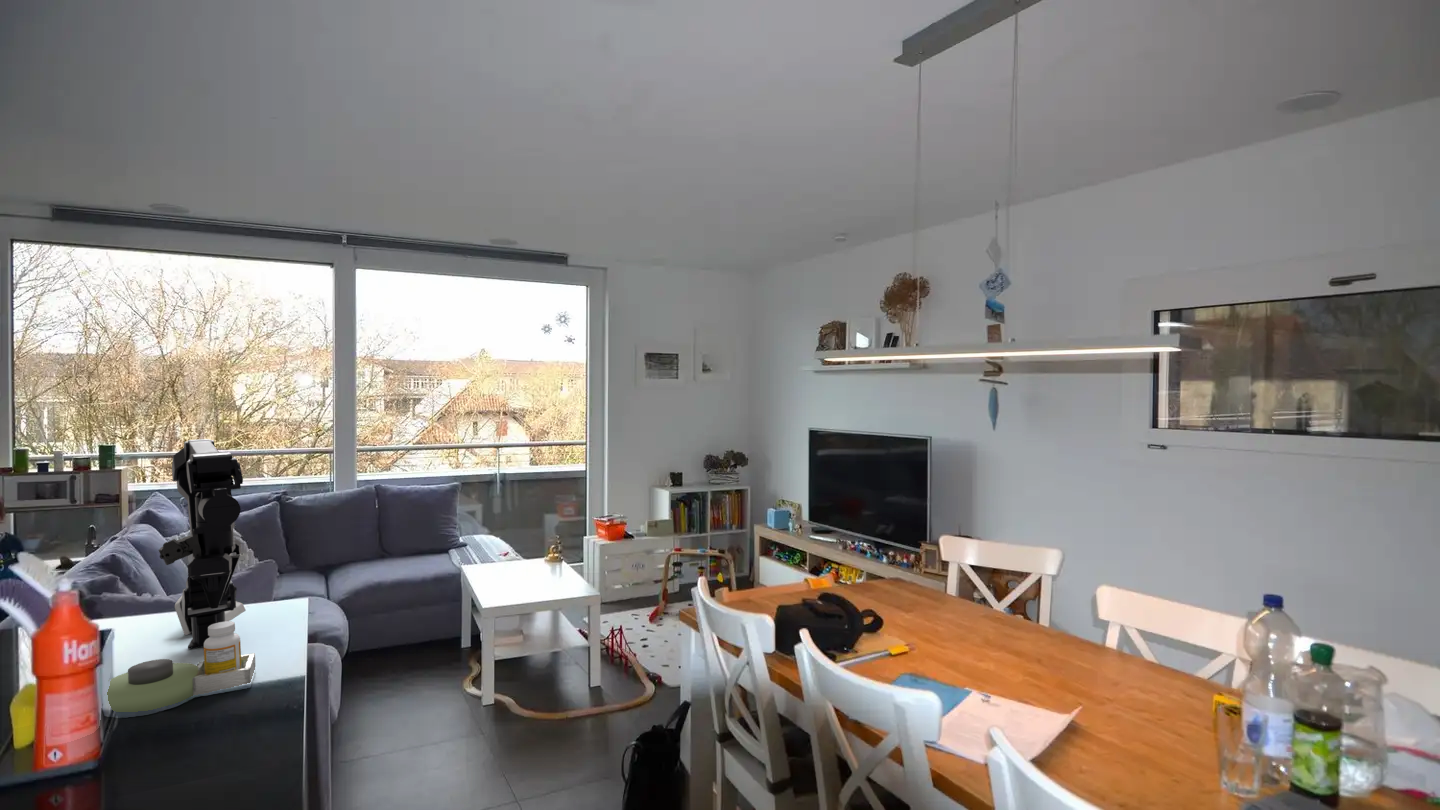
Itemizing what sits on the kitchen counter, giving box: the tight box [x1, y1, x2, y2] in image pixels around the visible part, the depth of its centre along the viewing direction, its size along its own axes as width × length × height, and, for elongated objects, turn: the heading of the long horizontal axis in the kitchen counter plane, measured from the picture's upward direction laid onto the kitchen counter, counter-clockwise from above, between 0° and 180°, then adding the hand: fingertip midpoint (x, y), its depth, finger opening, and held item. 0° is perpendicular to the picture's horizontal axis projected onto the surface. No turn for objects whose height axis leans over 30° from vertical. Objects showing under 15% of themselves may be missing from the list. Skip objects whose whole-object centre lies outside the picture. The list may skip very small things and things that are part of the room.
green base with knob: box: [107, 658, 198, 712], centre depth 126 cm, size 13×13×6 cm
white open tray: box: [192, 652, 256, 695], centre depth 132 cm, size 9×9×4 cm
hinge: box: [174, 595, 246, 636], centre depth 168 cm, size 17×5×10 cm, turn 9°
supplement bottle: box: [203, 620, 242, 674], centre depth 132 cm, size 5×5×10 cm
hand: (218, 601), depth 142 cm, fingers open, 9 cm apart
